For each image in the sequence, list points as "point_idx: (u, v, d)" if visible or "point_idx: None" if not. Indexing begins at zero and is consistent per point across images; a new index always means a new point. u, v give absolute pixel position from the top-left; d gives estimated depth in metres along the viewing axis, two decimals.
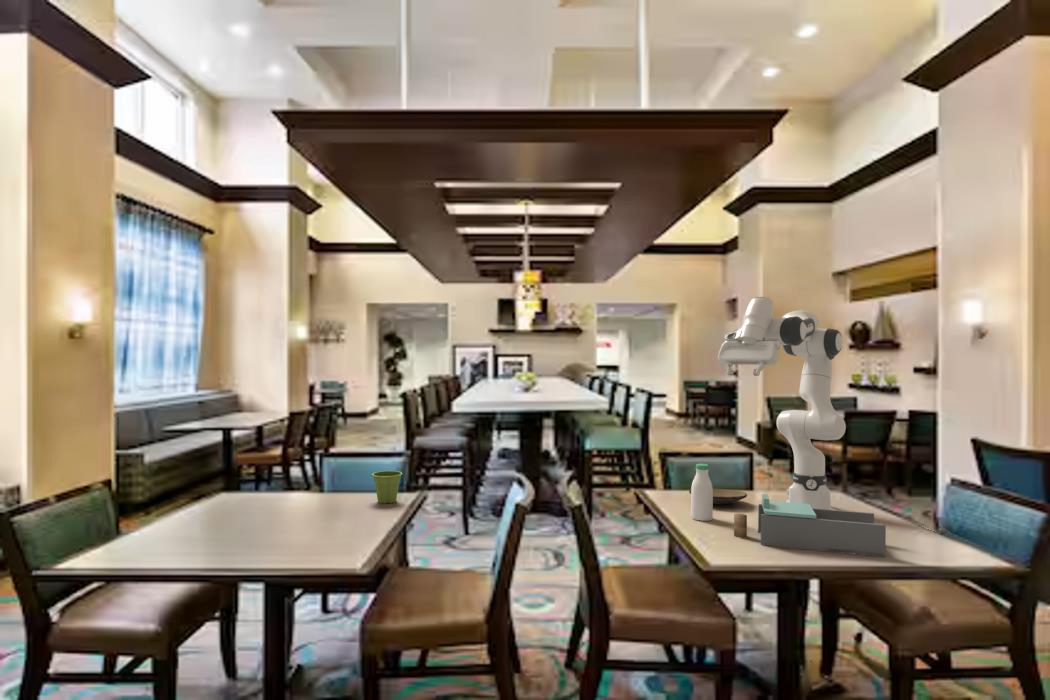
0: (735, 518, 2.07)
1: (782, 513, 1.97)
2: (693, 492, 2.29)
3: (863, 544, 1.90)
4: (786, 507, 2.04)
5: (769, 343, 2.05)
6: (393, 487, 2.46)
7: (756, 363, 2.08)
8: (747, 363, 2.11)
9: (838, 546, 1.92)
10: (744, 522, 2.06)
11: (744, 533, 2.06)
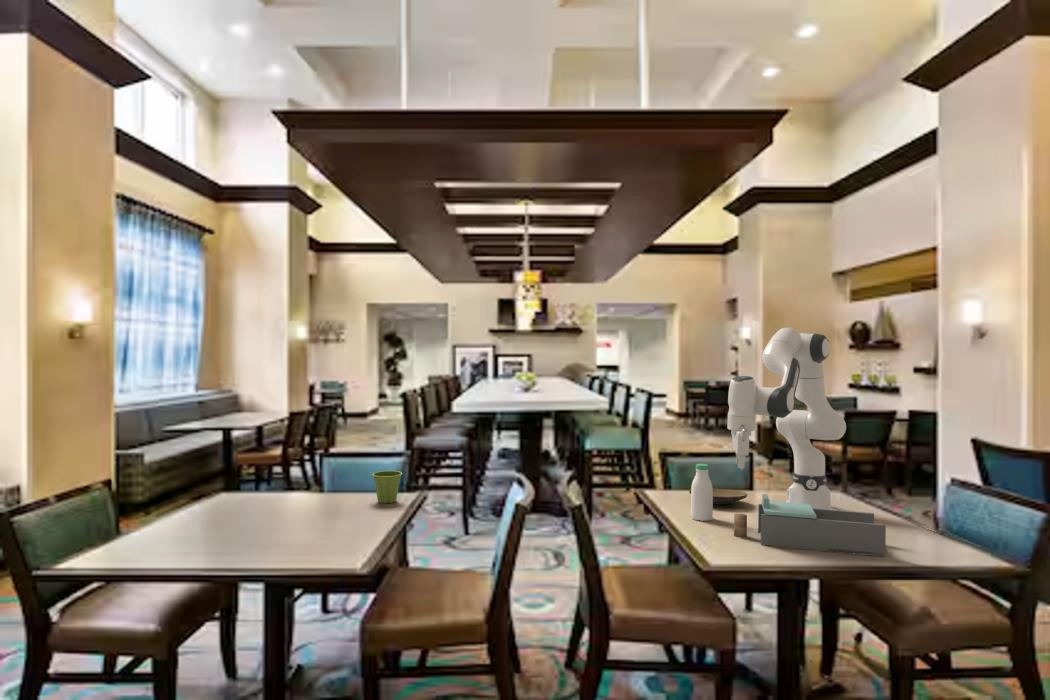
0: (735, 518, 2.07)
1: (782, 513, 1.97)
2: (693, 492, 2.29)
3: (863, 544, 1.90)
4: (786, 507, 2.04)
5: (736, 435, 2.01)
6: (393, 487, 2.46)
7: None
8: None
9: (838, 546, 1.92)
10: (744, 522, 2.06)
11: (744, 533, 2.06)
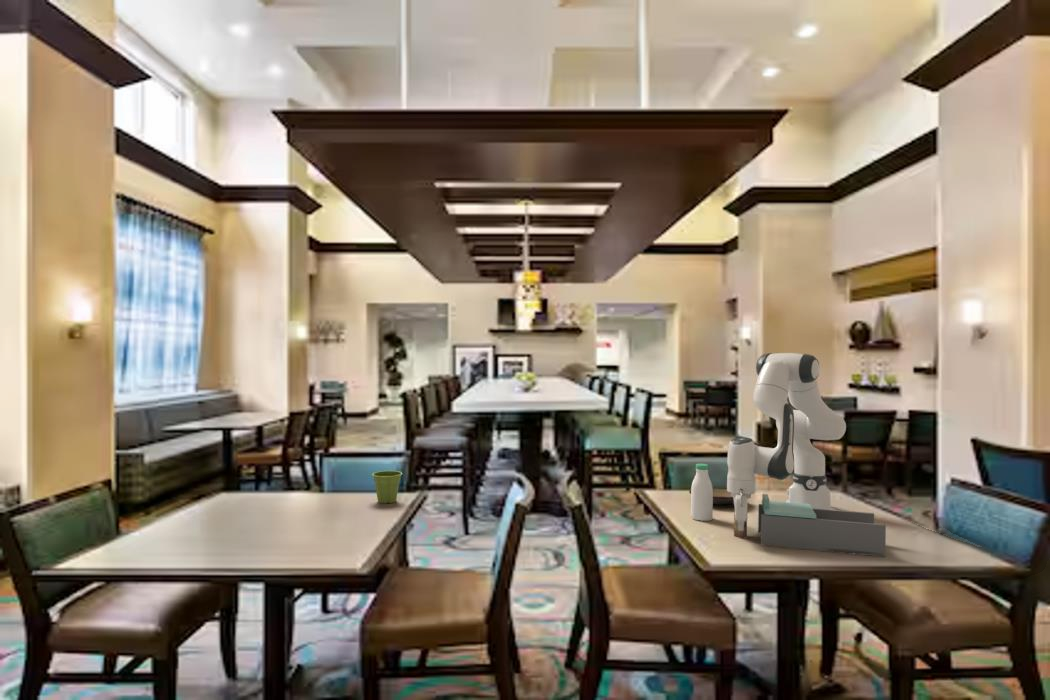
0: (735, 518, 2.07)
1: (782, 513, 1.97)
2: (693, 492, 2.29)
3: (863, 544, 1.90)
4: (786, 507, 2.04)
5: None
6: (393, 487, 2.46)
7: None
8: None
9: (838, 546, 1.92)
10: (744, 522, 2.06)
11: (744, 533, 2.06)
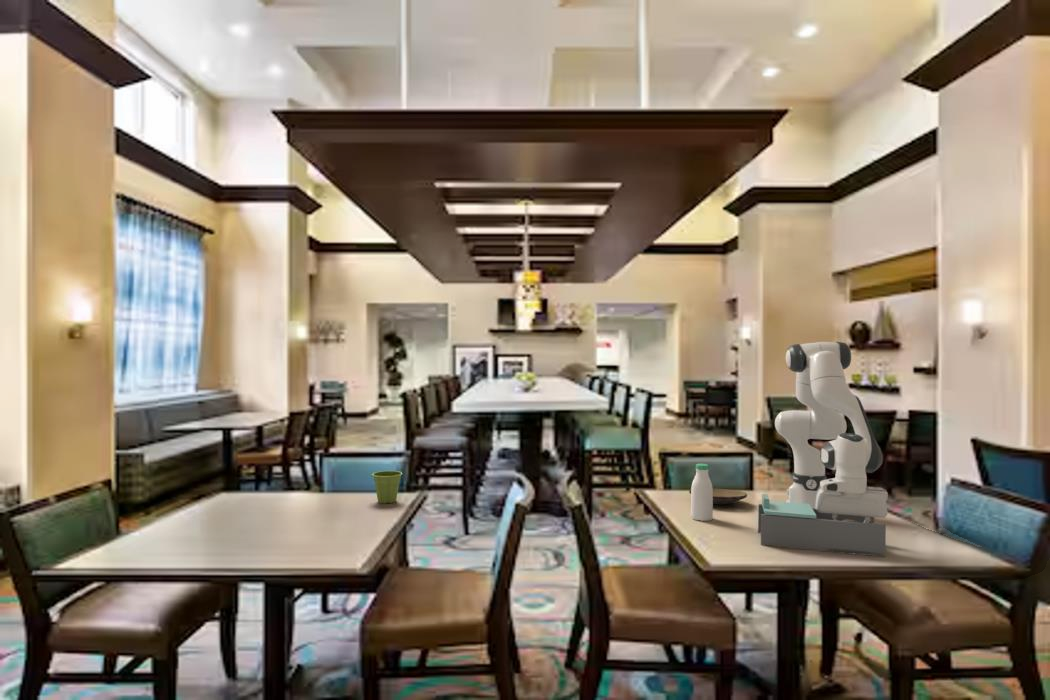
0: None
1: (782, 513, 1.97)
2: (693, 492, 2.29)
3: (863, 544, 1.90)
4: (786, 507, 2.04)
5: (879, 498, 1.94)
6: (393, 487, 2.46)
7: None
8: None
9: (838, 546, 1.92)
10: None
11: None
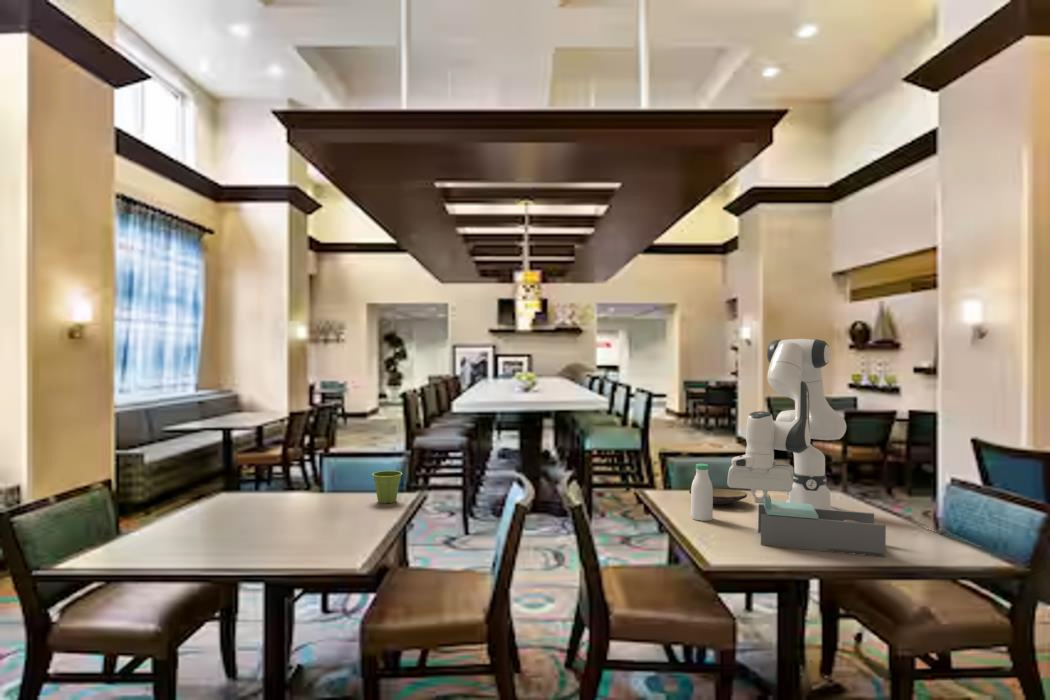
0: None
1: (784, 513, 1.96)
2: (693, 492, 2.29)
3: (863, 544, 1.90)
4: (788, 507, 2.03)
5: (784, 472, 2.02)
6: (393, 487, 2.46)
7: None
8: None
9: (838, 546, 1.92)
10: None
11: None
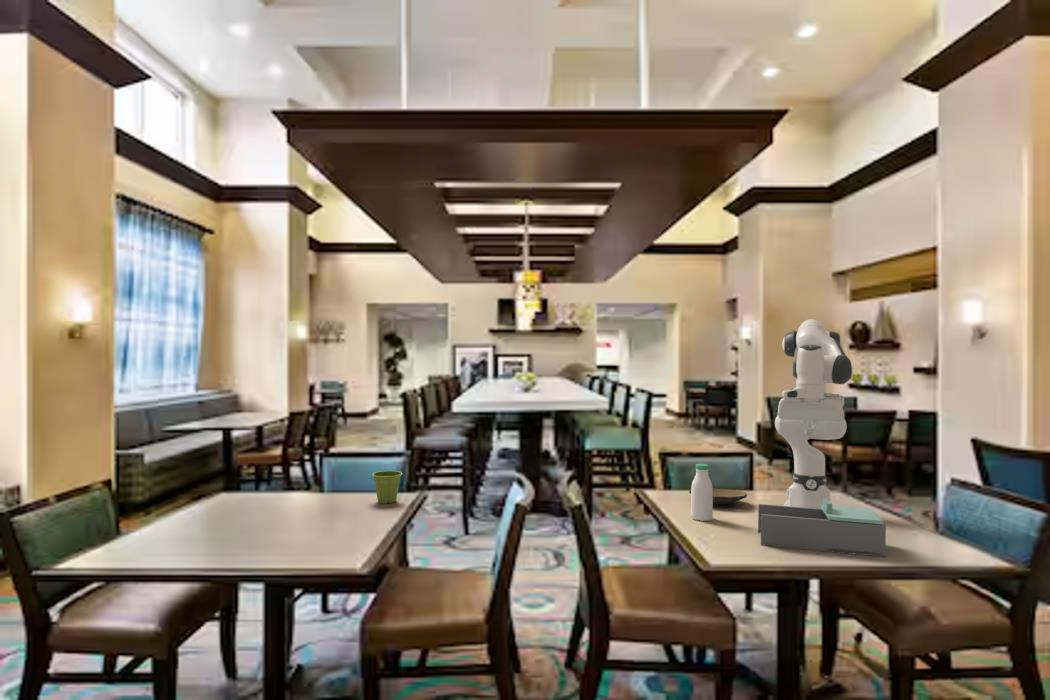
0: None
1: (847, 518, 1.91)
2: (693, 492, 2.29)
3: (863, 544, 1.90)
4: (849, 512, 1.98)
5: (836, 403, 2.06)
6: (393, 487, 2.46)
7: None
8: None
9: (838, 546, 1.92)
10: None
11: None
